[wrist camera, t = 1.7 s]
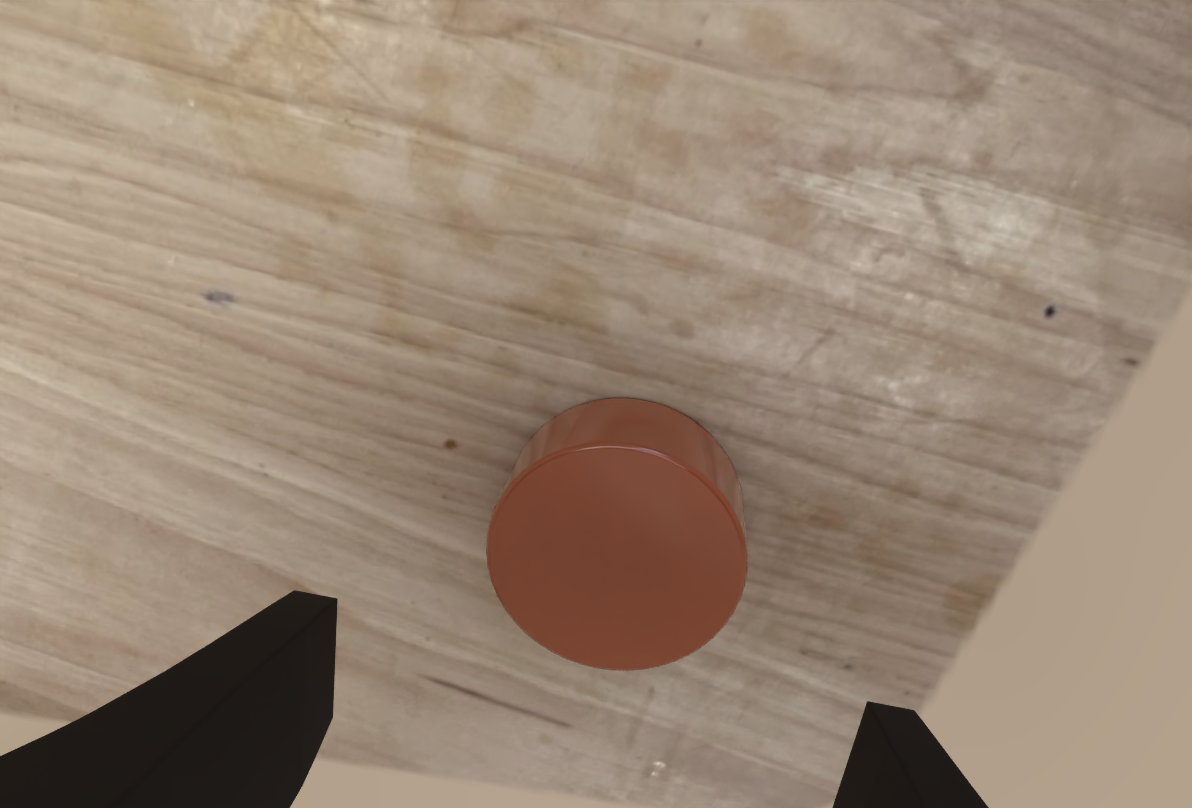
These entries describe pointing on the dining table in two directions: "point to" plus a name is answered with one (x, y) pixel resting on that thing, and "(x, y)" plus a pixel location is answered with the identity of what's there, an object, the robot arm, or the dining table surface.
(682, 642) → the cylinder
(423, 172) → the dining table surface
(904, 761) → the robot arm
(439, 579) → the dining table surface
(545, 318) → the dining table surface
